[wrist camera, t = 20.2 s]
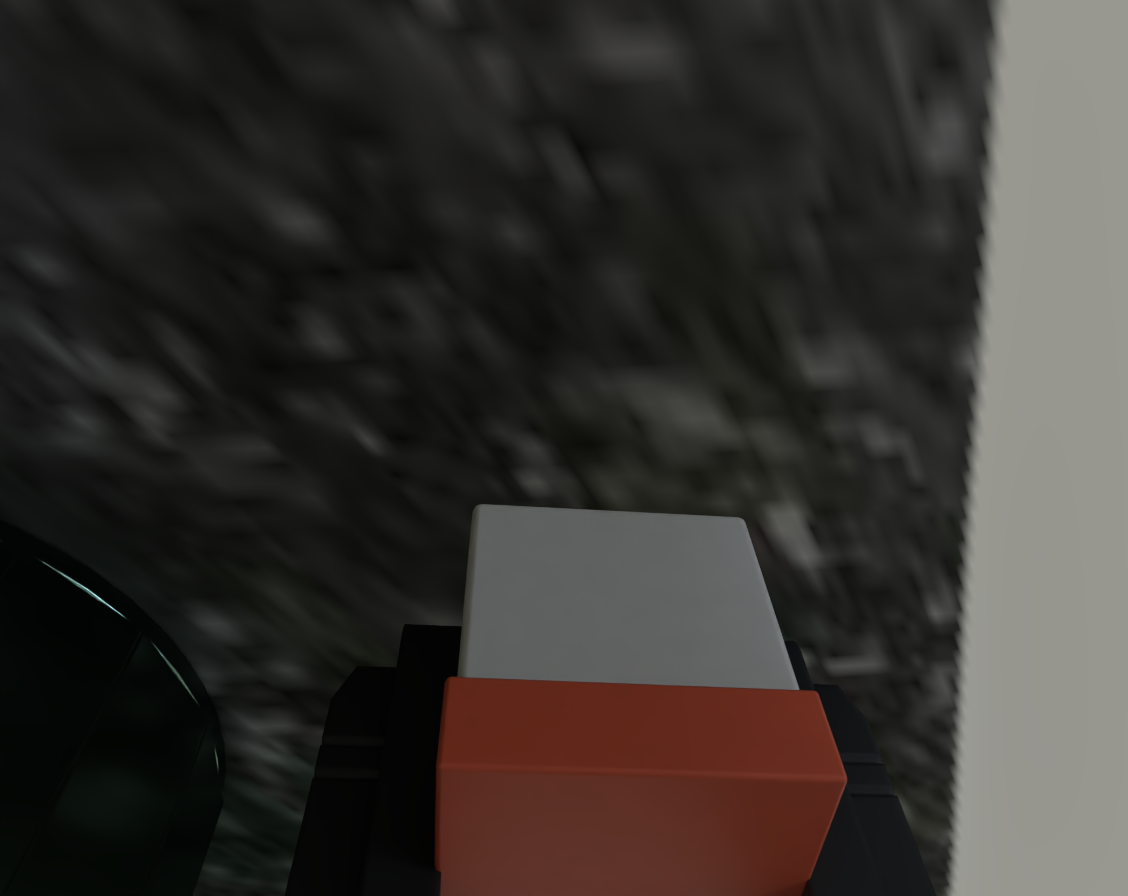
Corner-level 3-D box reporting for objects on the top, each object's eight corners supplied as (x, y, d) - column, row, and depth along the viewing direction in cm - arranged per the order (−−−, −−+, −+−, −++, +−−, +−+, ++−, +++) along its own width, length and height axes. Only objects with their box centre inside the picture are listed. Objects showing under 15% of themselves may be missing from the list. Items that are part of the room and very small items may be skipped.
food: (465, 492, 11) (436, 766, 7) (756, 507, 11) (850, 780, 8) (455, 777, 13) (430, 1070, 10) (688, 785, 13) (738, 1073, 10)
